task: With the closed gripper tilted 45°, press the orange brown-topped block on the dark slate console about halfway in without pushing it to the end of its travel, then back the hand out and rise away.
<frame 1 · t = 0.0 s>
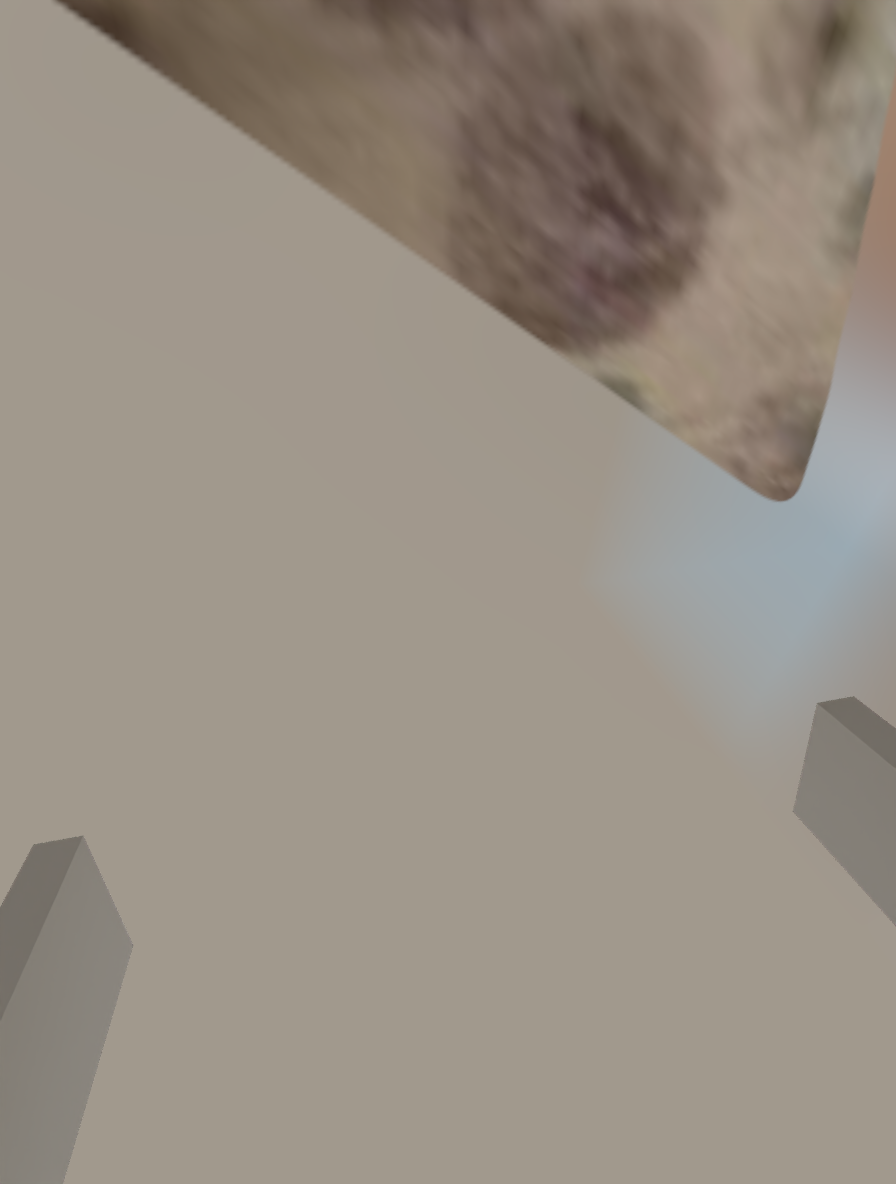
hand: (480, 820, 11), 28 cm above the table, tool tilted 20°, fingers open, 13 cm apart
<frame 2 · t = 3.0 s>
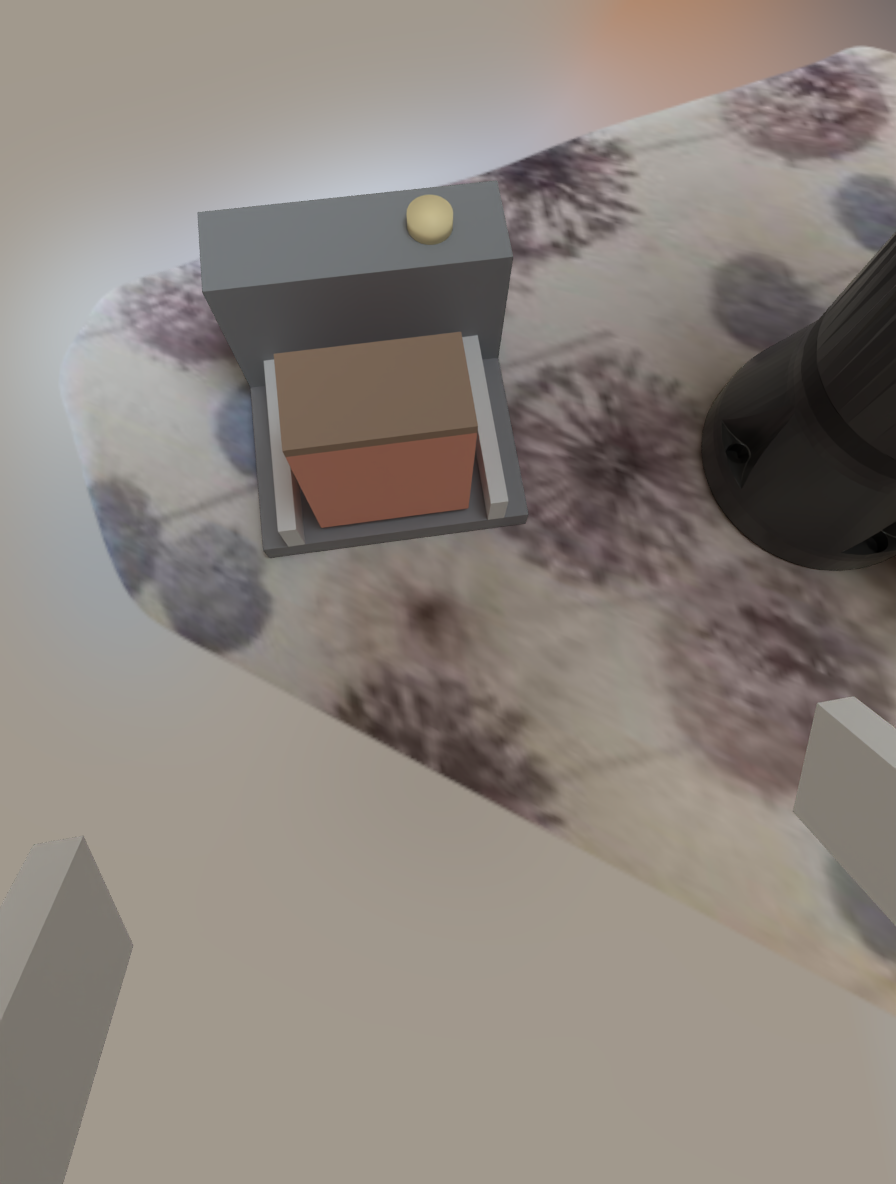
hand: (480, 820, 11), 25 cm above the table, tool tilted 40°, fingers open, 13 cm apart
orange brown-topped block: (383, 440, 33), point 7 cm above the table, slide at 0.0 cm
console: (383, 425, 41), on the table
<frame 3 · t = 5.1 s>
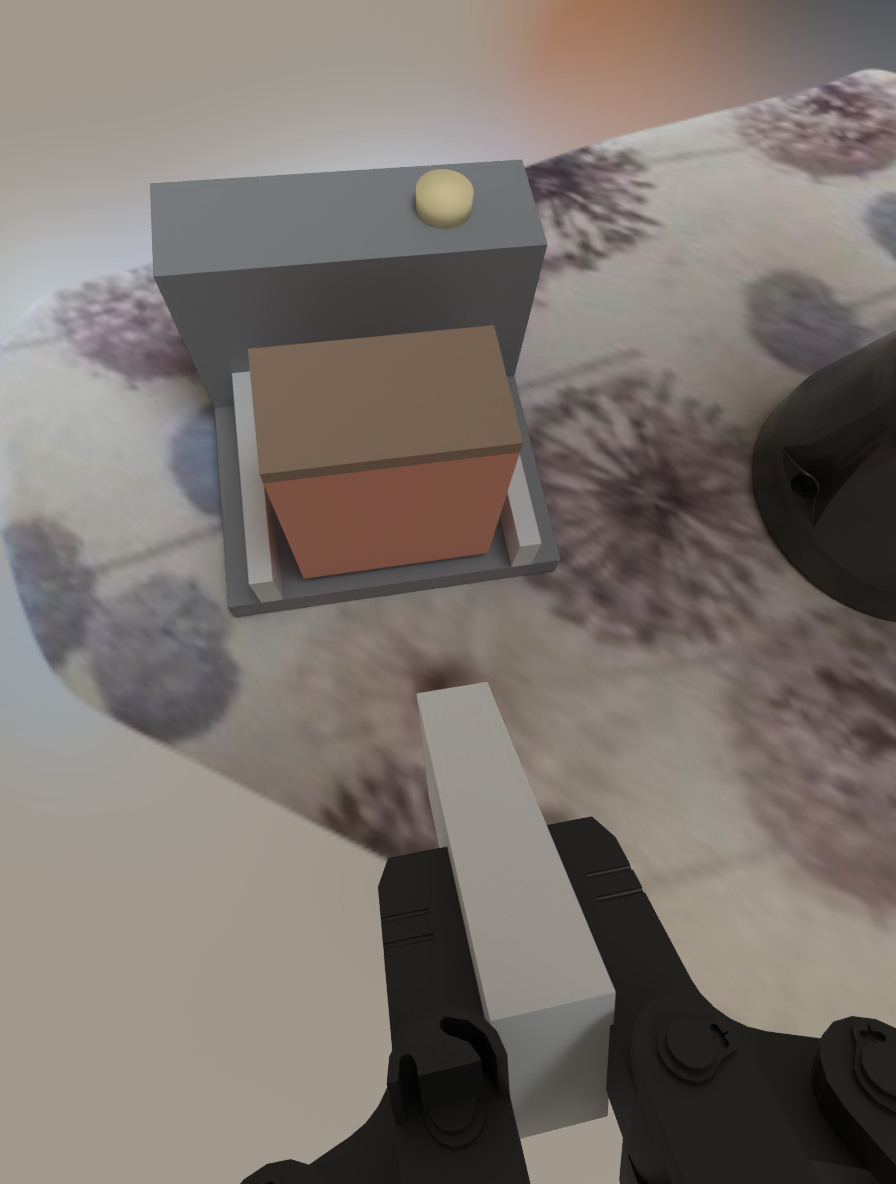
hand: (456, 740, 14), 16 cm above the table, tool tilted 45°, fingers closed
orange brown-topped block: (387, 467, 26), point 7 cm above the table, slide at 0.0 cm
console: (377, 455, 34), on the table
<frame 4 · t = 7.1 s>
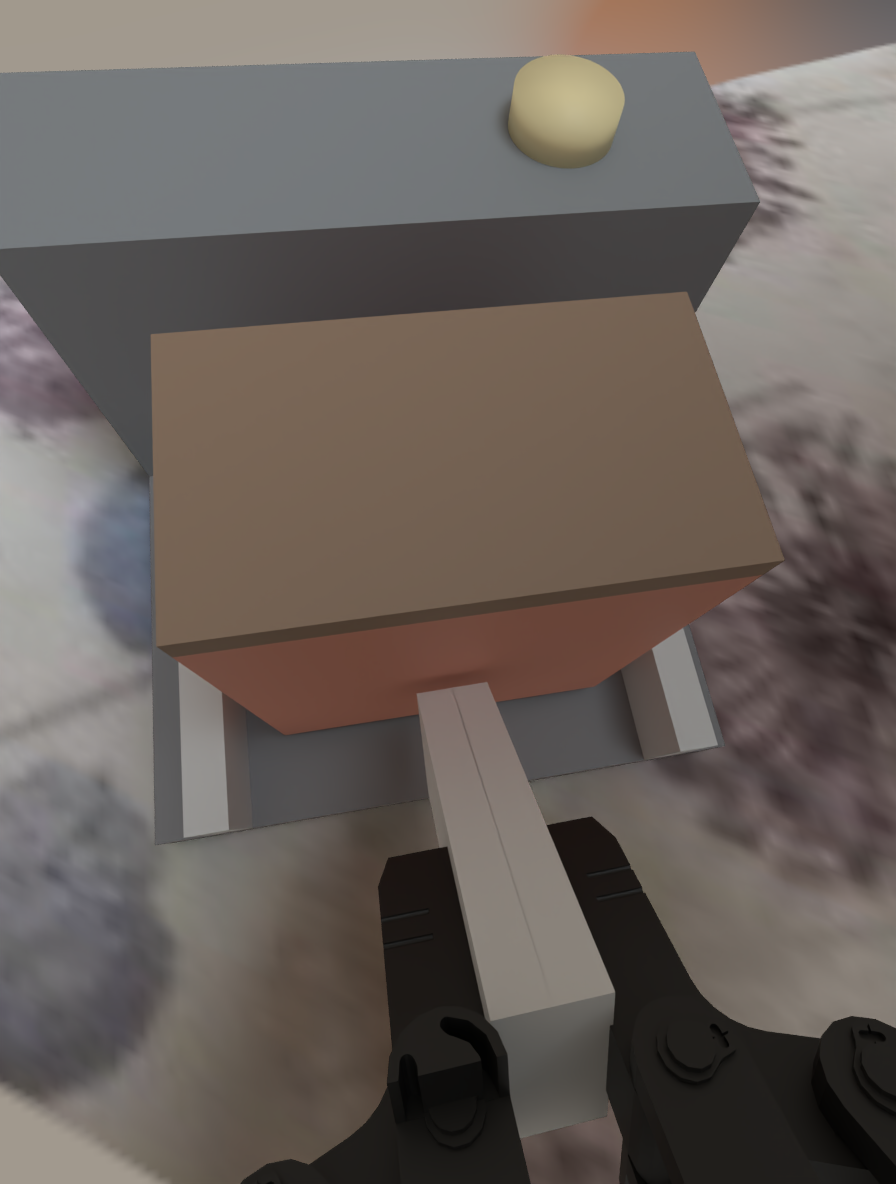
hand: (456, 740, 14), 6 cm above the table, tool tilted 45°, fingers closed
orange brown-topped block: (440, 564, 14), point 7 cm above the table, slide at 1.5 cm, touching gripper
console: (412, 550, 21), on the table
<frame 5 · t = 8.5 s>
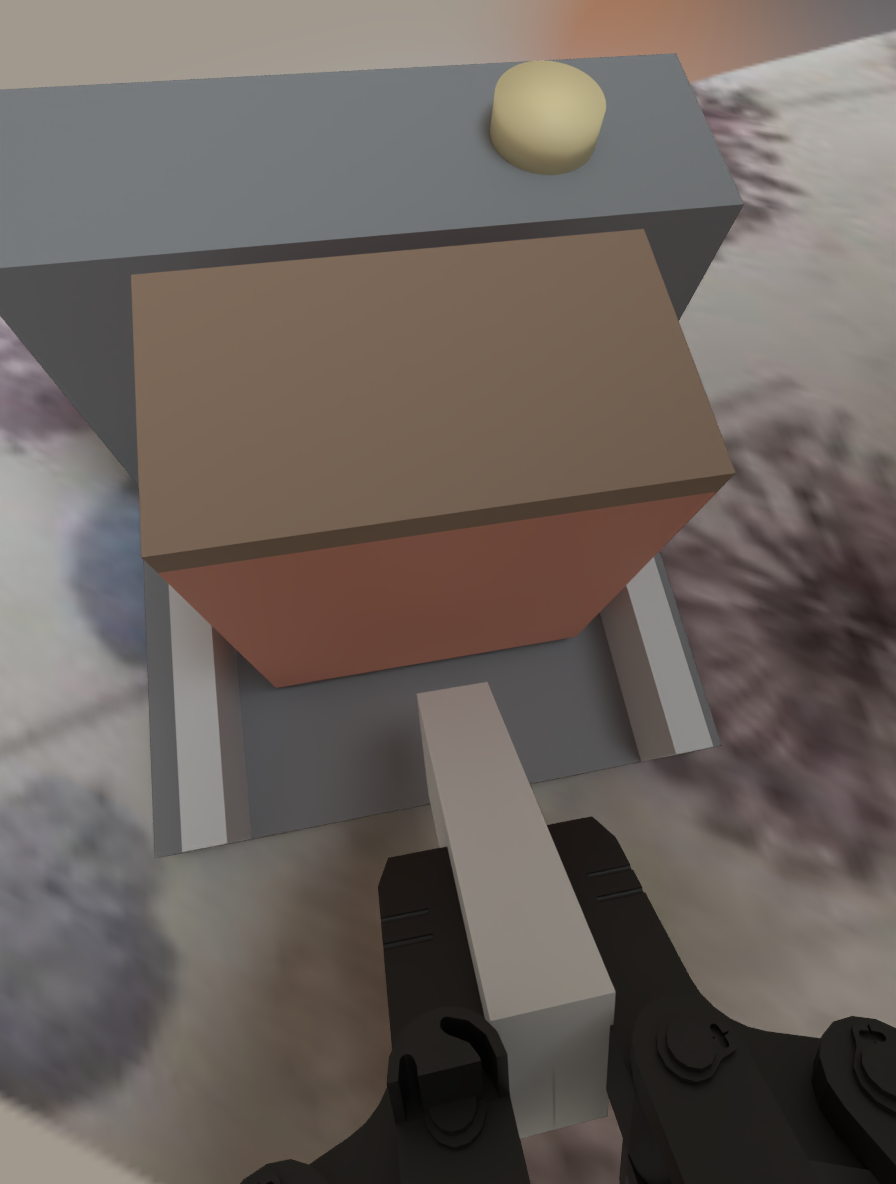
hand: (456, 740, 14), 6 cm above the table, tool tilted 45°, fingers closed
orange brown-topped block: (419, 509, 14), point 7 cm above the table, slide at 3.1 cm
console: (406, 555, 21), on the table
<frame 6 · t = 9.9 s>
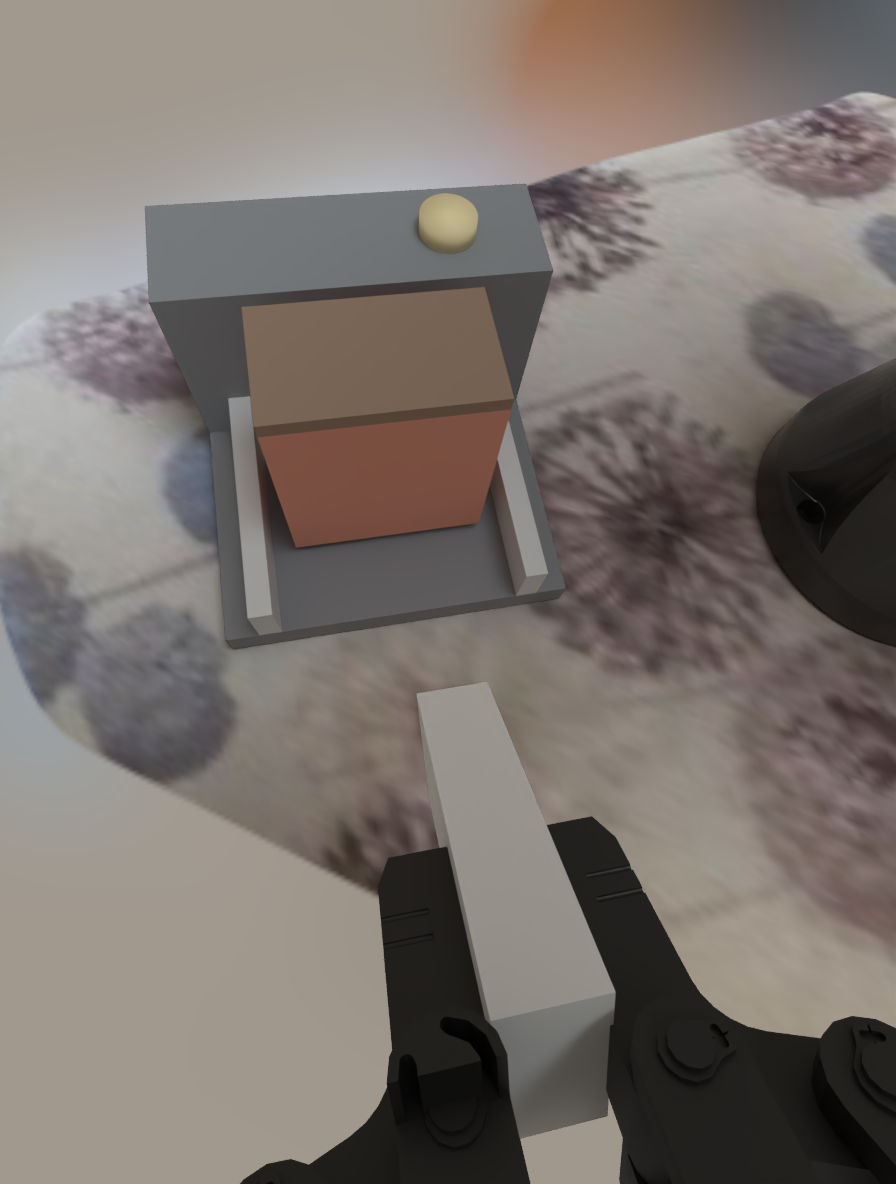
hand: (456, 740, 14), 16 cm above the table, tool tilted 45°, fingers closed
orange brown-topped block: (379, 432, 26), point 7 cm above the table, slide at 3.1 cm
console: (377, 480, 33), on the table
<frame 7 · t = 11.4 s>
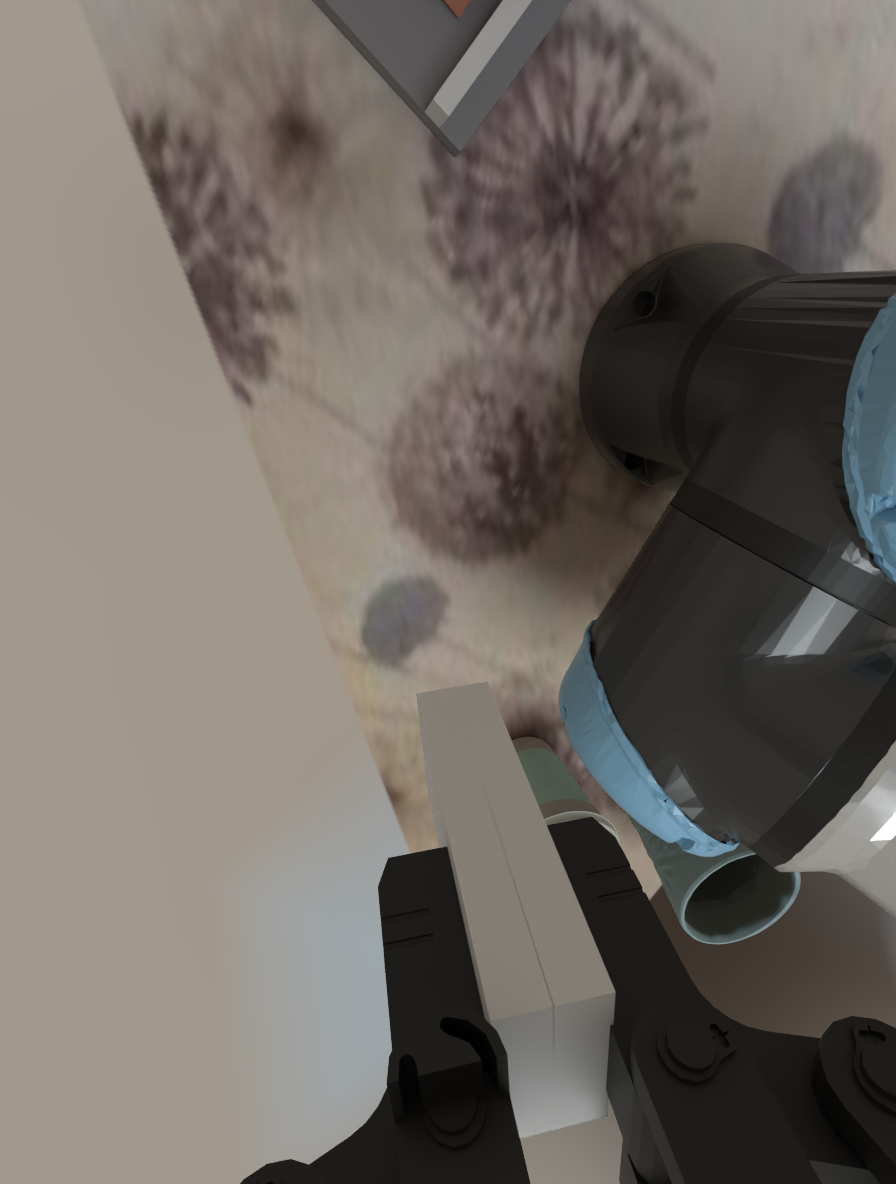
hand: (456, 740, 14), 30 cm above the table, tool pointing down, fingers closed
teal cup: (664, 790, 60), on the table
coffee cup: (520, 761, 55), on the table
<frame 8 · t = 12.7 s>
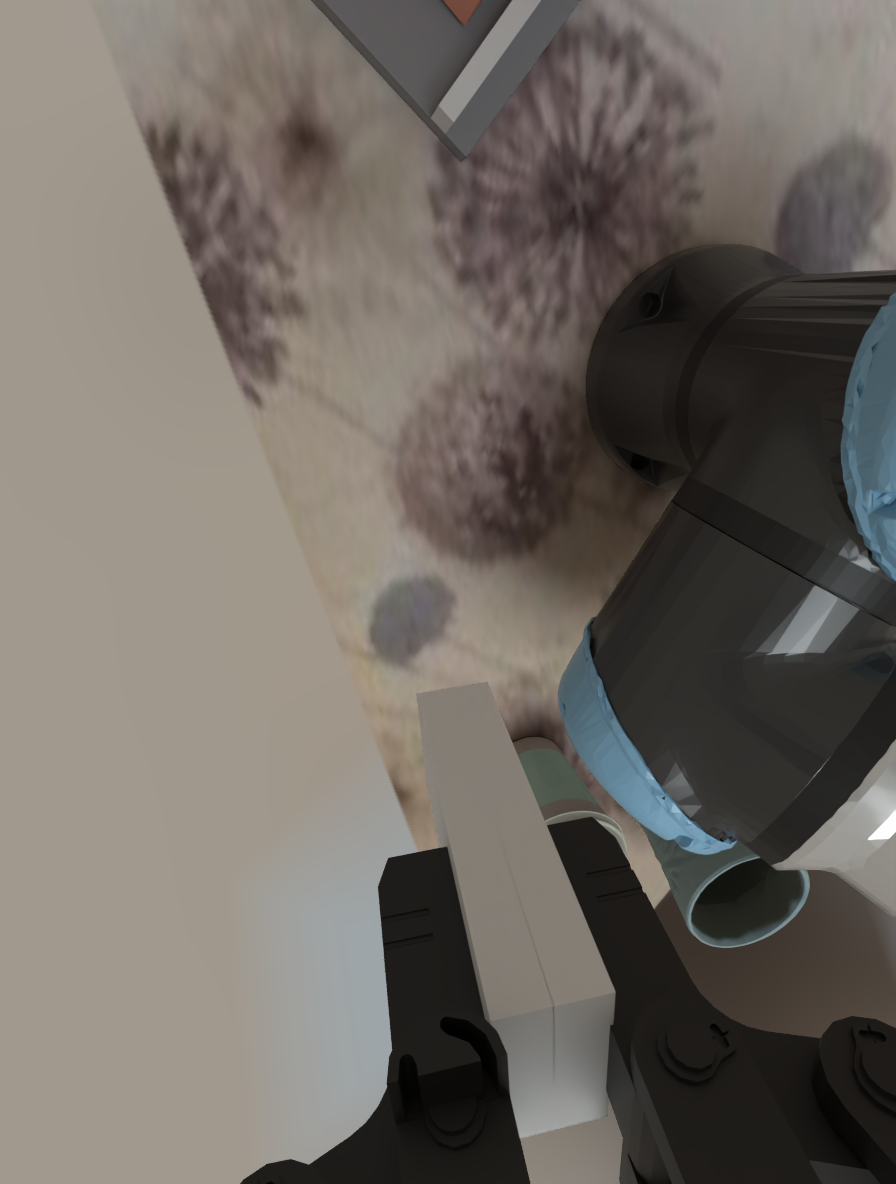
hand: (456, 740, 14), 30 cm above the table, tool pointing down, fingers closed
teal cup: (672, 793, 60), on the table
coffee cup: (528, 761, 55), on the table
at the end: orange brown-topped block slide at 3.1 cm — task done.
